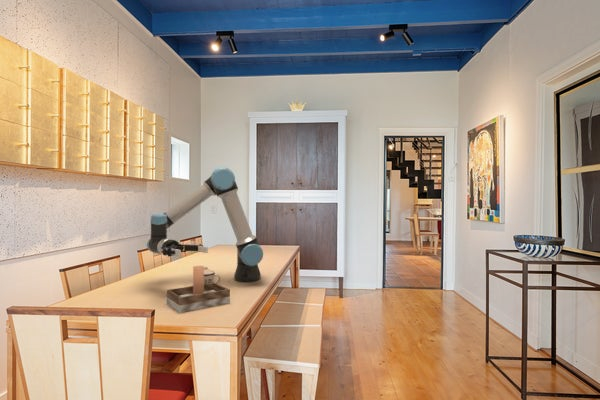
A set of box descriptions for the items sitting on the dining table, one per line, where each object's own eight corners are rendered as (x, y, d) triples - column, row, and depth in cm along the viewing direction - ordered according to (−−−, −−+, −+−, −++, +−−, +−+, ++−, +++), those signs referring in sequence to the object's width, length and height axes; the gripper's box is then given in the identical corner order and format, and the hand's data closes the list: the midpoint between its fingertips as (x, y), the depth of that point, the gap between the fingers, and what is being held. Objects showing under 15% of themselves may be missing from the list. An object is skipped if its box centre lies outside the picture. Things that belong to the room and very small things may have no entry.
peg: (201, 301, 155) (201, 265, 155) (205, 303, 151) (205, 266, 151) (191, 303, 152) (191, 266, 152) (195, 305, 149) (195, 268, 149)
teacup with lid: (197, 293, 168) (197, 269, 168) (194, 289, 176) (194, 266, 176) (222, 290, 173) (222, 267, 173) (218, 286, 181) (218, 264, 181)
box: (214, 295, 165) (214, 282, 165) (229, 303, 152) (229, 289, 152) (166, 303, 151) (166, 289, 151) (179, 313, 138) (179, 298, 139)
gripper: (191, 252, 178) (217, 256, 164) (143, 258, 158) (167, 263, 145) (191, 237, 178) (217, 240, 164) (143, 241, 158) (167, 245, 145)
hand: (194, 251), depth 154 cm, fingers open, 13 cm apart
